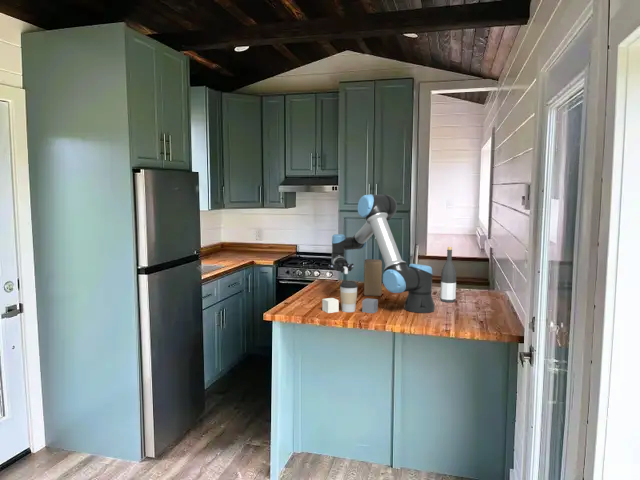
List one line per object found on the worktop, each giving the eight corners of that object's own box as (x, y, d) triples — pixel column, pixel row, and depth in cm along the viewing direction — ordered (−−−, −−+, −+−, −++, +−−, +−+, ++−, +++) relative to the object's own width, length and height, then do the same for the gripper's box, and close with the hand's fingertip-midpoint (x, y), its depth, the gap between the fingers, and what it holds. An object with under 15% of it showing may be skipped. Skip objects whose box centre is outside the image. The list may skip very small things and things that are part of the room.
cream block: (338, 311, 240) (338, 300, 239) (328, 313, 237) (328, 301, 236) (332, 309, 245) (332, 297, 244) (322, 310, 242) (322, 298, 241)
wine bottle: (446, 303, 259) (448, 248, 256) (437, 299, 266) (439, 246, 263) (458, 302, 262) (460, 247, 259) (449, 298, 269) (451, 245, 266)
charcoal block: (377, 311, 242) (377, 299, 241) (373, 313, 237) (373, 301, 236) (366, 309, 245) (366, 298, 244) (362, 312, 239) (362, 300, 239)
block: (381, 292, 284) (381, 259, 282) (381, 296, 274) (382, 261, 272) (364, 292, 285) (364, 258, 283) (363, 295, 275) (364, 261, 273)
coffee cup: (358, 309, 245) (359, 280, 244) (355, 313, 237) (355, 283, 235) (341, 307, 248) (342, 279, 246) (337, 312, 239) (338, 282, 237)
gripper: (351, 270, 273) (358, 278, 249) (328, 270, 272) (333, 278, 248) (351, 257, 272) (358, 264, 249) (329, 257, 271) (333, 264, 247)
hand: (346, 271), depth 248 cm, fingers closed
